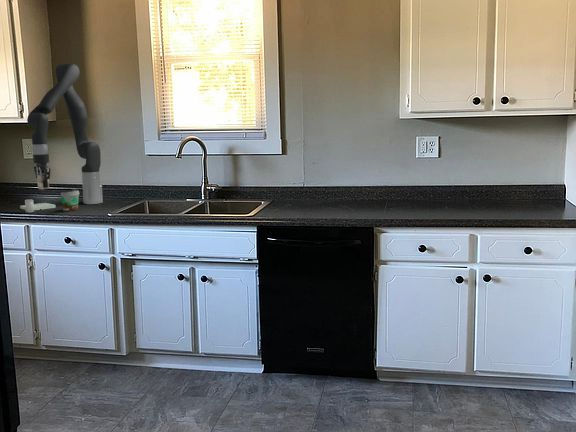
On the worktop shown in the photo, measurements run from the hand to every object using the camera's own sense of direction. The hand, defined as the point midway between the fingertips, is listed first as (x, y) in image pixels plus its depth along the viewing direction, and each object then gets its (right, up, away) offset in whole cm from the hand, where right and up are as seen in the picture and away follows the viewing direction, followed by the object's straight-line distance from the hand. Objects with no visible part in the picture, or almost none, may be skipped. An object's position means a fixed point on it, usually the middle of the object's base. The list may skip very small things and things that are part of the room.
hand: (43, 187), depth 335 cm
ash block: (0, -1, 0) cm, 1 cm away
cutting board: (-7, -10, +12) cm, 17 cm away
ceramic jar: (-7, -12, 0) cm, 14 cm away
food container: (+14, -12, +3) cm, 19 cm away
